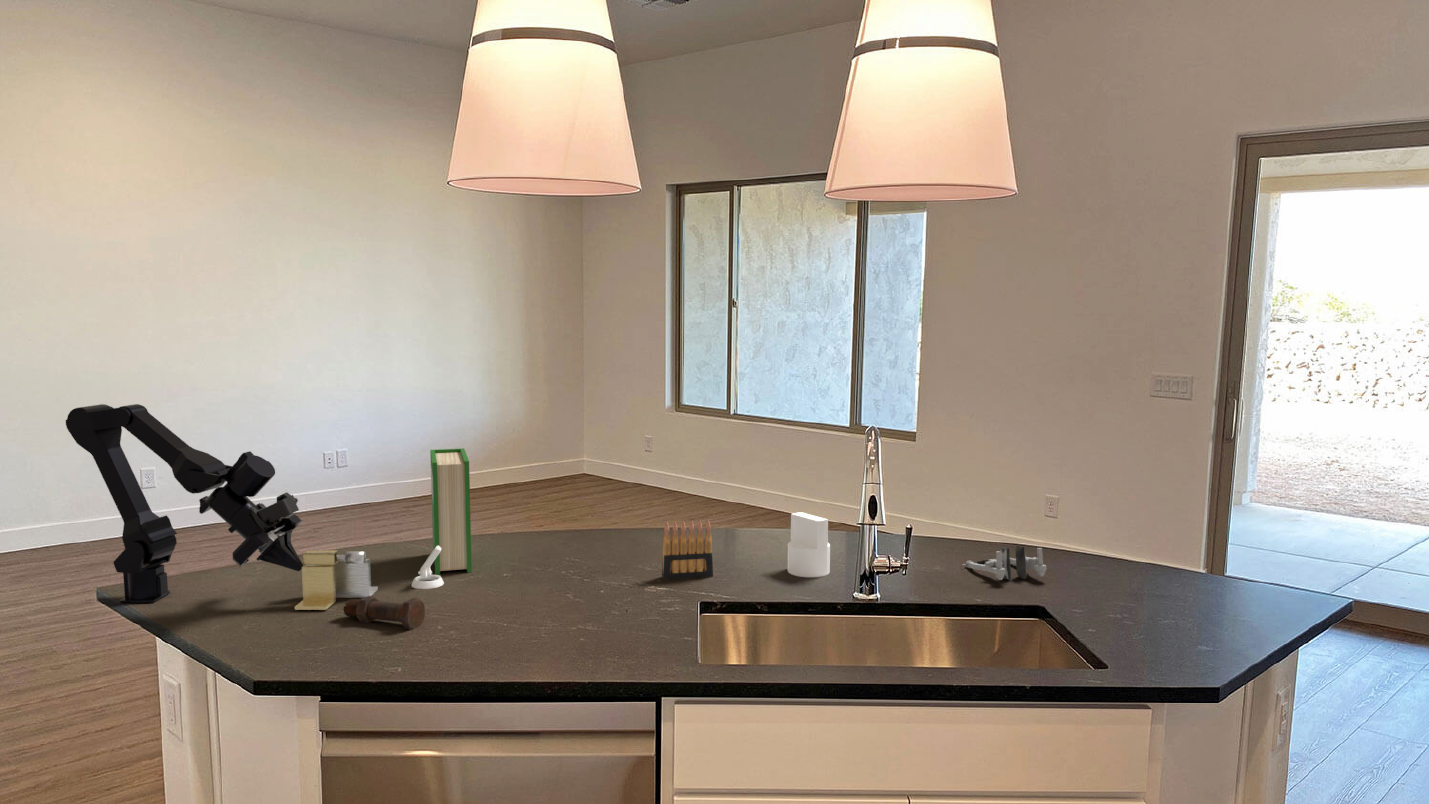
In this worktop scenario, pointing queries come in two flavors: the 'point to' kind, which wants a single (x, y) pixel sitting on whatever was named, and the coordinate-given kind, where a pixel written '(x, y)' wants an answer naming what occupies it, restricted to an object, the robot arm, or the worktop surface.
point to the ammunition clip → (687, 553)
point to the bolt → (387, 611)
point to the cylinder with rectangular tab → (808, 546)
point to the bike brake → (1003, 562)
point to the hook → (428, 573)
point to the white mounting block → (352, 575)
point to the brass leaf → (318, 580)
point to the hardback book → (451, 509)
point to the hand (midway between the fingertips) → (301, 569)
